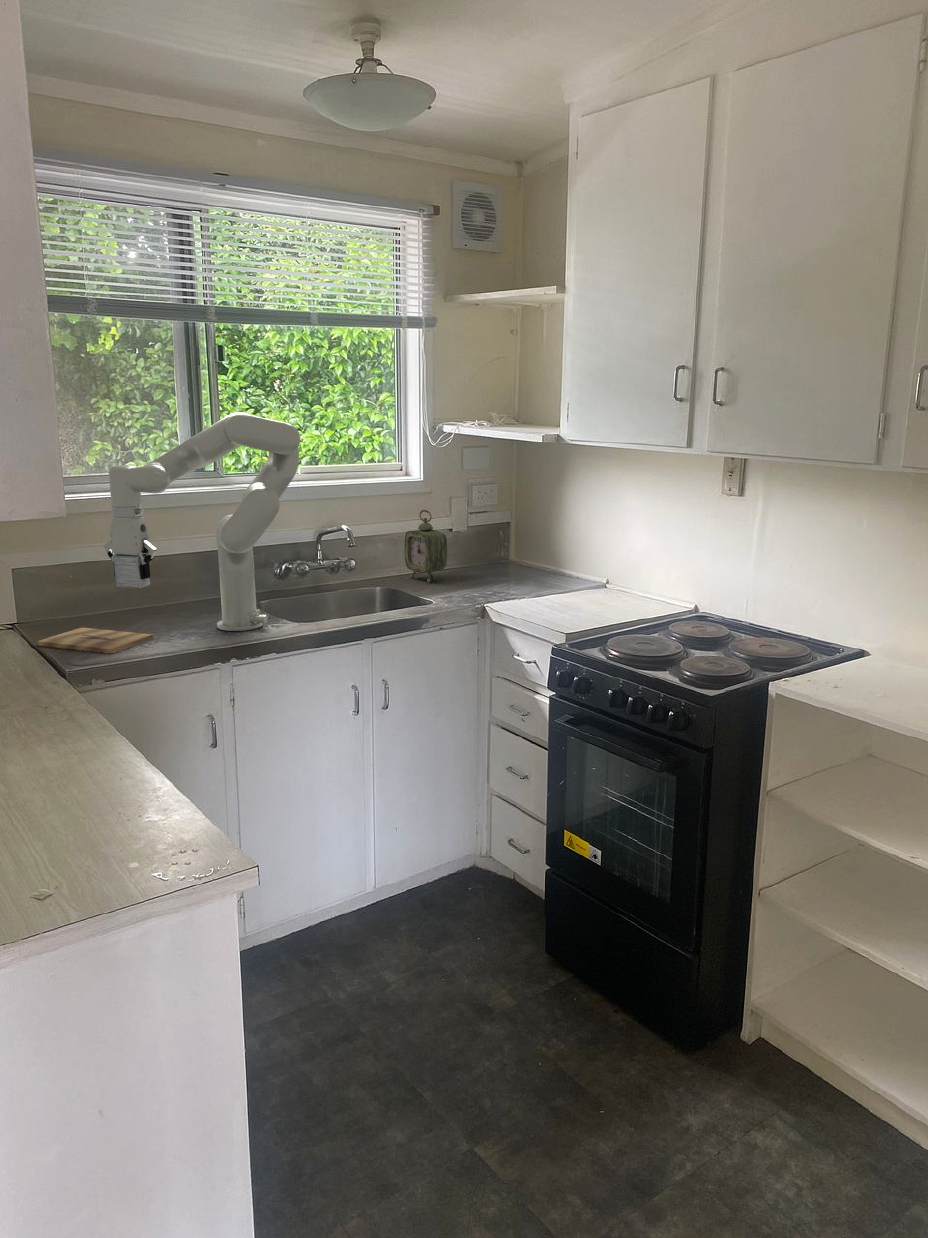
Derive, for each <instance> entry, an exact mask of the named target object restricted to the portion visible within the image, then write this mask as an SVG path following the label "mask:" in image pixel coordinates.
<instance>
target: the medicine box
mask: <svg viewBox="0 0 928 1238" xmlns="http://www.w3.org/2000/svg"><path fill="white" fill-rule="evenodd" d="M143 558H144V556H143ZM113 559H114V565H113V569H114V568H115V576H114V578H115V586H116V587H120V588H132V589H133V588H134V589H135V588H137V589H142V588H145V587H149V586H150V585H151V581H150V578H147V579H141V578H140V567H139V566H140V565H141V562H140V561H139V557H138V556H130V555H115V556H113Z"/></svg>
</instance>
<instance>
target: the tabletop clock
mask: <svg viewBox="0 0 928 1238" xmlns="http://www.w3.org/2000/svg"><path fill="white" fill-rule="evenodd" d="M424 512H425V513H427V514H428V515H429V519H428V518H427V517H424V518H423V517H422V513H424ZM418 515H419V519H420V520H421V521H422V523H420V524H419V525H418V528H417V529H415V530H414V529H413V530H408V531H406V532H405V536H404V561H405V566H406V568H407V569H409V570H411V571H412V572H413V573H411V574H409V578H410V579H415V574H416V573H422V574H423V573H428V578H427V579H426V582H427V584H430V583H432V581H433V579H434V575H433V574H432V573H433V572H439V571H442V570H444V569H445V568H447V565H448V563H447V562H448V540H447V536H446V535H445V534H444V533H442V532H441V531H439V530H436V529H434V527H433V526H432V524H431V523H430V522H431V520H432V513H431V512H430V510H428V509H422V510H420V512H419V514H418Z"/></svg>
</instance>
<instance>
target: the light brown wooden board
mask: <svg viewBox="0 0 928 1238" xmlns="http://www.w3.org/2000/svg"><path fill="white" fill-rule="evenodd" d="M154 638H155V637H154V634H151V633H150V634H149V633H141V632H131V631H120V630H112V629H102V628H101V629H100V628H92V627H84V626H83V627H79V628H74V629H72V630H68V631H66V632H62V633H59V634H56V635H52V636H50V637H46V638H43V639H41V640H37V646H39V647H46V648H55V649H65V650H73V649H74V650H75V651H82V650H83V651H82V652H91V651H93V653H100V652H103V653H102V654H109V653H114V654H116V652H117V653H119V652H122V651H125V650H128V649H130V648H133V647H135V646H138V645H141V644H144V643H147V642H149V641H152V640H154ZM118 651H119V652H118Z"/></svg>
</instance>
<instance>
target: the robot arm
mask: <svg viewBox="0 0 928 1238" xmlns="http://www.w3.org/2000/svg"><path fill="white" fill-rule="evenodd" d="M300 443H301V435H300V432H299V430H298V429H297V428H296V426H294V425H293V424H291V423H289V422H284V421H279V420H275V419H269V418H266V417H265V418H264V417H261V416H256V415H253V414H248V413H246V412H233V413H230V414H228V415H227V416H225V417H223V418H221V419H220V420H218V421H217V422H214V423H213V424H212V425H210V426H208V427H207V428H204V429H203V430H201V431H200V432H198V433H196V434H195V435H192V436H191V437H189V438H187V439H186V440H185V441H184V442H182V443H180V444H179V445H177V446H176V447H173V448H172V449H171V450H169V451H167V452H166V453H164V454H162V455H160V456H158V457H157V458H156V459H154V460H152V461H150V462H148V463H147V464H145V465H144V466H135V465H130V464H129V465H126V464H125V465H123V464H122V465H113V466H110V468H109V469H108V470H109V471H108V477H109V478H108V479H109V491H110V504H111V515H112V517H111V519H110V528H109V541H108V542H107V543H105V544H104V546H103V548H104V550H105V551H106V553H107V556H108V557H109V558H110V561H111V563H113V566H114V559H113V556H115V555H130V556H138V557H139V561H140V562H141V565H140V566H139V567H140V578H141V579H147V578H149V579H150V578H151V568H150V564H151V563H152V561H153V559H154V558H155V555H156V553H157V552H158V549H157V547H155V546H154V545H152V543H151V538H150V532H149V530H150V529H149V526H148V522H147V520H146V517H143V515H144V514H145V509H143V508H142V507H143V506H142V494H141V493H145V494H161V493H164V492H165V491H167V489H168V488H169V487H170V484H171V483H173V482H176V481H177V480H178V479H180V478H182V477H184V476H185V475H187V474H189V473H190V472H193V471H195V470H198V469H202V468H205V467H208V466H210V465H212V464H213V463H215V462H217V461H218V460H220V459H221V458H223V457H225V456H227V455H228V454H230V453H231V452H233V451H235V450H237V449H238V448H240V447H245V448H249V449H254V450H260V451H264V452H268V457H267V459H266V461H265V463H264V465H263V466H262V468H261V469H260V470H259V473H257V475H256V476H255V477H254V479H253V480H252V481H251V482H250V484H249V485H248V486H247V488H245V489H244V491H243V493H242V494H241V498H240V504H239V505H238V507H237V508H236V509H235V511H234V512H233V513H232V514H227V515H225V516H223V517H222V518H221V519H220V521H219V522H218V523H217V525H216V530H215V538H216V545H217V553H218V555H217V556H218V557H217V559H218V570H219V586H220V588H219V589H220V590H219V591H220V602H221V603H220V605H221V620H219V621H218V622H217V623H216V627H217V629H219V630H221V631H227V632H243V631H250V630H251V631H252V630H256V629H258V628H261V627H262V626H263V624H266V623H268V619H269V618H268V617H269V616H268V615H267V614H261V609H257V597H256V596H257V595H256V582H255V578H256V577H255V560H254V559H255V558H254V548H253V547H254V546H255V545H256V544H257V543H258V541H260V538H261V537H262V536H263V535H264V534H265V532H266V531H267V529H268V528H269V527H270V525H271V524H272V523H273V521H274V520H275V518H276V517H277V515H278V513H279V511H280V505H281V503H280V498H281V497H282V495H283V494H284V492H285V491H286V489H287V488H288V486H289V485H290V484H291V483H292V481H293V479H294V478H295V476H296V473H297V471H298V469H299V464H300V451H299V450H300V449H299V446H300ZM143 556H144V558H143ZM113 573H114V577H115V568H114V567H113Z"/></svg>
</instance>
